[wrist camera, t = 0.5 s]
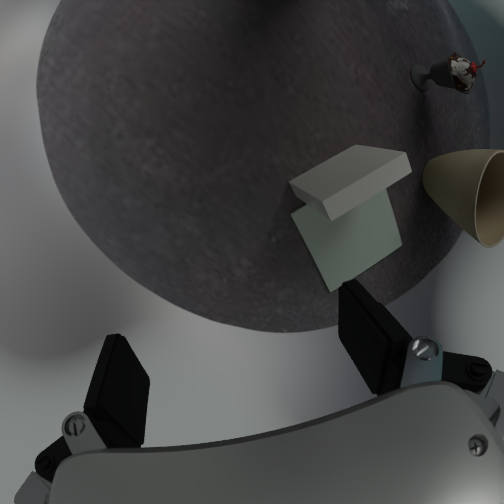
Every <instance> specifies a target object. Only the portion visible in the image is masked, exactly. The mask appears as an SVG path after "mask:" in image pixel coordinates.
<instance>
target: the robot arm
mask: <svg viewBox="0 0 504 504" xmlns="http://www.w3.org/2000/svg"><path fill="white" fill-rule="evenodd" d="M338 334H339V338H340V341H341V342H342V344H343V346H344V347H345V349H346V350H347V352H348V354H349V355H350V357H351V359H352V360H353V362H354V364H355V365H356V367H357V369H358V370H359V372H360V374H361V376H362V377H363V379H364V381H365V382H366V384H367V385H368V387H369V389H370V391H371V392H372V393H373V394H377V396H378V397H375V398H373V399H371V400H368V401H366V402H363V403H360V404H358V405H355V406H352V407H350V408H347V409H344V410H341V411H338V412H335V413H332V414H329V415H326V416H323V417H320V418H317V419H314V420H310V421H307V422H304V423H300V424H297V425H293V426H289V427H286V428H281V429H277V430H273V431H269V432H265V433H260V434H256V435H251V436H245V437H240V438H235V439H229V440H222V441H216V442H209V443H200V444H191V445H181V446H168V447H149V448H141V445H142V444H143V443H144V436H145V424H146V413H147V404H148V395H149V387H150V379H149V376H148V374H147V373H146V371H145V370H144V368H143V367H142V365H141V363H140V362H139V360H138V358H137V357H136V355H135V353H134V352H133V350H132V349H131V347H130V345H129V343H128V341H127V340H126V338H125V337H124V336H121V335H120V334H111V335H107V336H106V338H105V341H104V344H103V347H102V350H101V353H100V355H99V358H98V361H97V364H96V367H95V370H94V373H93V377H92V380H91V383H90V386H89V389H88V392H87V396H86V400H85V403H84V406H83V407H84V411H83V412H78V411H77V412H73V413H71V414H69V415H68V416H67V417H66V418H65V420H64V421H63V423H62V433H63V436H62V437H60V438H59V439H58V440H56V441H55V442H54V443H52V444H51V445H50V446H49V447H47V448H46V449H45V450H43V451H42V452H41V453H40V454H39V455H38V456H37V458H36V460H35V469H36V472H33V471H32V472H31V474H30V475H29V476H28V478H27V479H26V481H25V482H24V483H23V485H22V486H21V488H20V489H19V491H18V492H17V494H16V495H15V499H14V503H15V504H504V372H501V371H499V370H496V372H494V371H492V367H491V365H490V364H489V363H488V361H486V360H485V359H483V358H480V357H476V356H469V355H463V354H456V353H450V352H445V351H443V349H442V346H441V344H440V343H439V341H438V340H436V339H435V338H433V337H429V336H419V337H416V338H415V339H412V337H411V336H410V335H409V334H408V332H407V331H406V330H405V329H404V328H403V327H402V326H401V325H400V323H399V322H398V321H397V320H396V319H395V318H394V317H393V316H392V314H391V313H390V312H389V311H388V310H387V309H386V308H385V307H384V306H383V305H382V304H381V303H379V302H377V301H376V300H375V299H374V298H373V297H372V296H371V295H370V294H369V293H368V291H367V290H366V289H365V288H364V287H363V286H362V285H361V284H360V283H359V282H358V281H357V280H356V279H352V280H349V281H345V282H343V283H342V286H340V287H339V321H338Z"/></svg>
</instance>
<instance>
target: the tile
mask: <svg viewBox="0 0 504 504" xmlns="http://www.w3.org/2000/svg"><path fill="white" fill-rule="evenodd" d="M411 172H412V170H411V167H410V164H409V161H408V158H407V155H406V152H400V151H395V150H389V149H382V148H376V147H368V146H361V145H354V146H352V147H350V148H349V149H347V150H345V151H343V152H341V153H339V154H337V155H336V156H334V157H332V158H330V159H328V160H327V161H325V162H323V163H321V164H319V165H317V166H316V167H314V168H312V169H310V170H309V171H307V172H305V173H303V174H301V175H300V176H298V177H296V178H294V179H293V180H291V181H289V184H290V186H291V187H292V189H293V191H294V193H295V195H296V197H298V198H299V199H300V200H302V201H303V202H305V203H306V204H308V205H309V206H310V207H312V208H313V209H315V210H316V211H317V212H319V213H320V214H322V215H323V216H324V217H326V218H327V219H328V220H330V221H331V222H332V221H333V220H335V219H336V218H338V217H340V216H341V215H343V214H345V213H346V212H348V211H350V210H351V209H353V208H354V207H356V206H358V205H359V204H361V203H363V202H364V201H366V200H368V199H369V198H371V197H372V196H374V195H376V194H377V193H379V192H380V191H382V190H384V189H385V188H387V187H388V186H390V185H392V184H393V183H395V182H397V181H398V180H400V179H401V178H403V177H405V176H406V175H408V174H409V173H411Z"/></svg>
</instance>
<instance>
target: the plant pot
mask: <svg viewBox="0 0 504 504" xmlns="http://www.w3.org/2000/svg"><path fill="white" fill-rule="evenodd" d="M422 180H423V186H424V189H425V191H426V192H427V194H428V195H429V196H430V197H431V198H432V199H433V201H434V202H435V203H436V204H437V205H438V206H439V207H440V208H441V209H442V210H443V211H444V212H445V213H446V214H447V215H448V216H449V217H450V218H451V219H452V220H453V221H454V222H455V223H456V224H458V225H459V226H460V227H461V228H462V229H463V230H465V231H466V232H467V233H468V234H469V235H471V236H472V237H473V238H474V239H475V240H477V241H478V242H479V243H481V244H482V245H483V246H484V247H487V248H491V247H494V246H496V245H497V244H499V243H500V242H501V241H502V240H503V238H504V150H492V149H475V150H464V151H457V152H452V153H448V154H444V155H441V156H438V157H435V158H433V159H431V160H429V161H428V162H427V164H426V166H425V168H424V171H423V177H422Z"/></svg>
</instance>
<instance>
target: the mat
mask: <svg viewBox="0 0 504 504" xmlns="http://www.w3.org/2000/svg"><path fill="white" fill-rule="evenodd" d="M290 215H291V217H292V218H293V220H294V222H295V224H296V226H297V228H298V230H299V232H300V234H301V236H302V237H303V239H304V241H305V243H306V245H307V247H308V249H309V251H310V253H311V255H312V257H313V259H314V261H315V263H316V265H317V267H318V269H319V271H320V273H321V275H322V277H323V279H324V281H325V283H326V285H327V287H328V289H329V291H330V293H331V292H332V291H334V290H335V289H337V288H339V287H340V286H342V283H343V282H345V281H349V280H351V279H353V278H354V277H356V276H357V275H359V274H361V273H362V272H364V271H365V270H367V269H368V268H370V267H371V266H373V265H374V264H376V263H377V262H379V261H380V260H381V259H383V258H384V257H386V256H387V255H389V254H390V253H392V252H393V251H395V250H396V249H397V248H399V247H400V246H402V242H401V238H400V235H399V231H398V227H397V224H396V220H395V217H394V213H393V210H392V207H391V204H390V200H389V197H388V194H387V191H386V188H385V189H384V190H382V191H380V192H379V193H377V194H376V195H374V196H372V197H371V198H369V199H368V200H366V201H364V202H363V203H361V204H359V205H358V206H356V207H354V208H353V209H351V210H350V211H348V212H346V213H345V214H343V215H341V216H340V217H338V218H336V219H335V220H333V221H332V222H331V221H330V220H328V219H327V218H326V217H324V216H323V215H322V214H320V213H319V212H317V211H316V210H315V209H313V208H312V207H310V206H309V205H308V204H306V205H304V206H302V207H301V208H299V209H297V210H296V211H294V212H292V213H291V214H290Z"/></svg>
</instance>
